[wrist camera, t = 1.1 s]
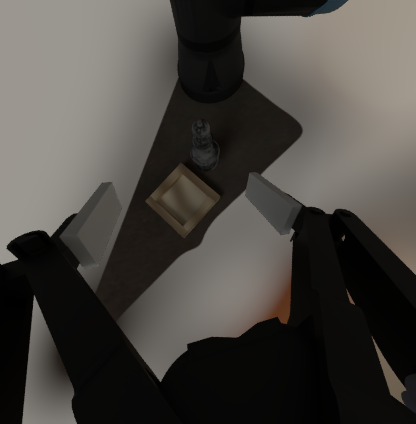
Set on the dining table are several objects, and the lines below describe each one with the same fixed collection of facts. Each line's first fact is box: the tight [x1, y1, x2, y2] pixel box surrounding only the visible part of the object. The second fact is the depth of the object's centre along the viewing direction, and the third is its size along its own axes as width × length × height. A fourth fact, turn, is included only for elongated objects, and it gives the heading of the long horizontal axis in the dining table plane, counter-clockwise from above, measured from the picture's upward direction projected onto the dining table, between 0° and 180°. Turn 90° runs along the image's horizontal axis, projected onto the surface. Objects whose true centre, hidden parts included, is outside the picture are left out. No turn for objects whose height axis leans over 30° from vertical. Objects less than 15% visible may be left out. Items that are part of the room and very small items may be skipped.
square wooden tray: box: [146, 163, 220, 237], centre depth 31 cm, size 11×11×2 cm
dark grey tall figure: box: [190, 119, 220, 171], centre depth 27 cm, size 6×6×12 cm
